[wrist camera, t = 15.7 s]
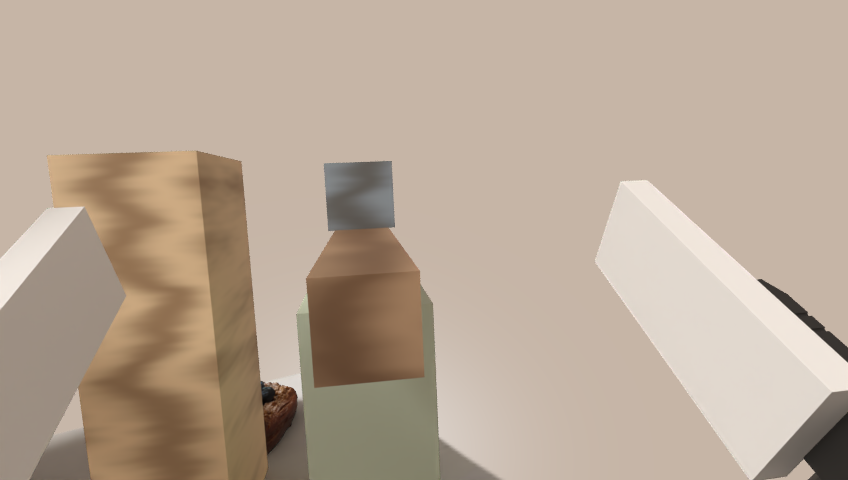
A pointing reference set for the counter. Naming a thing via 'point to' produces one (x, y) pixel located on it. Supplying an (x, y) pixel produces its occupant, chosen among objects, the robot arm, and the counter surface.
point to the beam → (363, 285)
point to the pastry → (277, 411)
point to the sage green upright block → (372, 418)
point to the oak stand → (170, 318)
